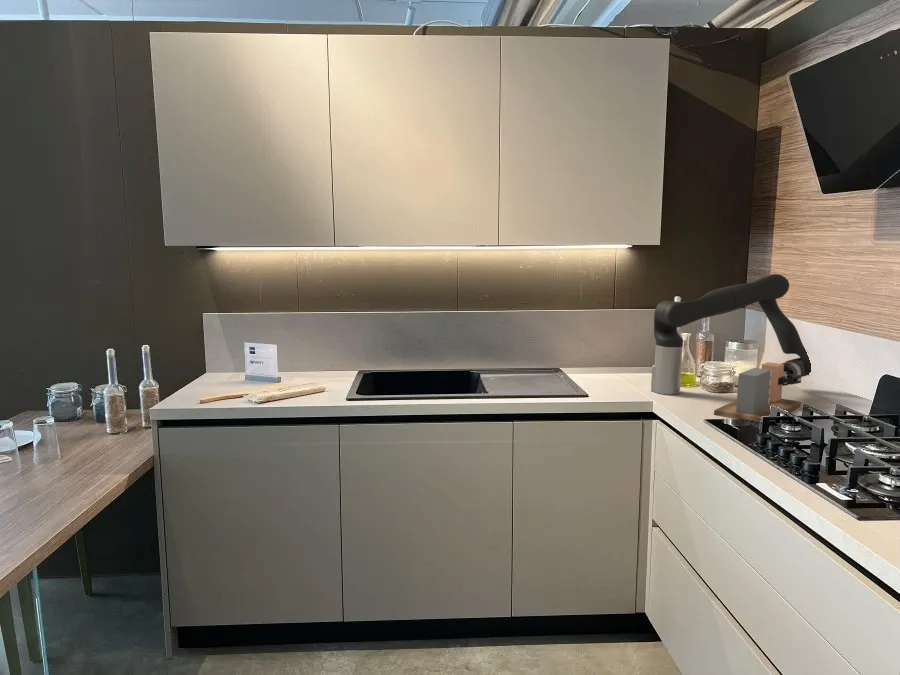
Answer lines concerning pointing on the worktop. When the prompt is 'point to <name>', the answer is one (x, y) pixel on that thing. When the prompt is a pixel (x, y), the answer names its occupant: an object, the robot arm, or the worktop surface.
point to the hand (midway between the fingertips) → (770, 380)
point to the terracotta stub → (774, 380)
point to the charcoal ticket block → (753, 390)
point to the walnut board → (731, 412)
